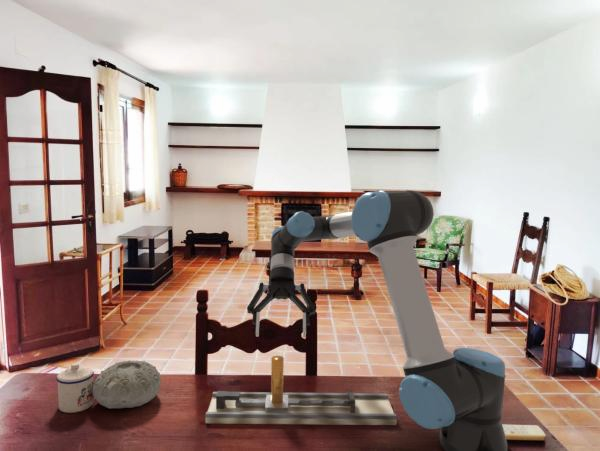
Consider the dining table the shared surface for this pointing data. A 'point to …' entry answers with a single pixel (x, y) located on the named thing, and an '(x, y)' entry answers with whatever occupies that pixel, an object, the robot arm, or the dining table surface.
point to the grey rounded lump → (127, 384)
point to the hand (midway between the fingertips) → (280, 335)
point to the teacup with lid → (75, 388)
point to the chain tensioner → (277, 399)
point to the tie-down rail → (303, 410)
